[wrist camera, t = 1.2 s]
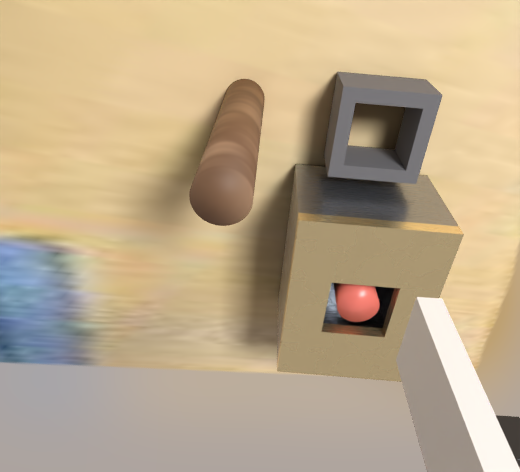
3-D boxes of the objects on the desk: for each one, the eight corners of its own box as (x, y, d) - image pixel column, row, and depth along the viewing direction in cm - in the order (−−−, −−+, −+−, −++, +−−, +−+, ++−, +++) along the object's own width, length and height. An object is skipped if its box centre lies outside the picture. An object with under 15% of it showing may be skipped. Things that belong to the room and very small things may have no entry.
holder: (323, 155, 37) (327, 176, 33) (337, 71, 33) (343, 86, 30) (403, 162, 37) (416, 184, 34) (426, 79, 33) (442, 95, 30)
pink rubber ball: (330, 294, 38) (334, 320, 35) (337, 264, 36) (341, 288, 33) (368, 298, 38) (374, 323, 35) (376, 267, 36) (383, 292, 34)
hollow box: (277, 300, 46) (277, 371, 38) (295, 164, 37) (298, 220, 30) (386, 309, 46) (406, 382, 38) (427, 175, 37) (463, 234, 30)
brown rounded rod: (224, 116, 35) (189, 222, 22) (226, 77, 34) (189, 166, 20) (262, 119, 35) (251, 228, 22) (265, 80, 34) (255, 172, 20)
